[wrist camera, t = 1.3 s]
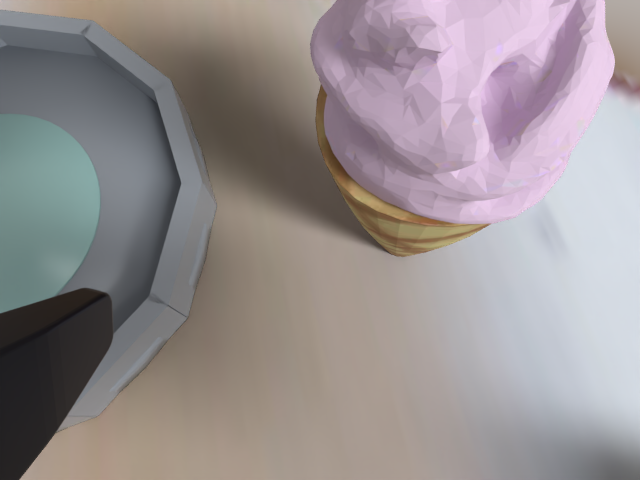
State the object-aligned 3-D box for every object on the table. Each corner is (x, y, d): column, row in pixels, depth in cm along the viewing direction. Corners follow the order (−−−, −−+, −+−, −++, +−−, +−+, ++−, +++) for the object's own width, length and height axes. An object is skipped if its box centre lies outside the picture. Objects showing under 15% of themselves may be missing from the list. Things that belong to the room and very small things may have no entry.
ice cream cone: (341, 155, 24) (330, -231, 10) (483, 170, 23) (691, -218, 9) (320, 301, 22) (266, 80, 8) (474, 321, 21) (726, 124, 7)
